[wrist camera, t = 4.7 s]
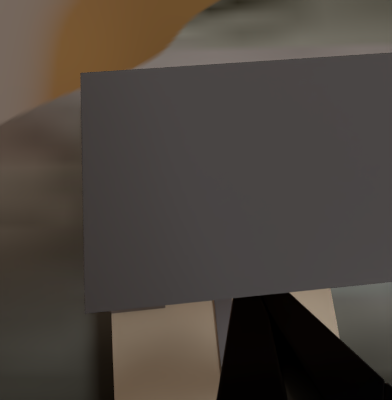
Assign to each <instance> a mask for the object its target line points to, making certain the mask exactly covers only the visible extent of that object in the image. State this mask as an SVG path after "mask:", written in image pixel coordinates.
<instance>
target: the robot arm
mask: <svg viewBox="0 0 392 400" xmlns="http://www.w3.org/2000/svg"><path fill="white" fill-rule="evenodd" d="M216 400H392V386H391V385H390V384H389V383H385V381H384V379H383V378H382V377H381V376H380V375H379V374H377V373H376V372H375V371H374V370H373V369H372V368H371V367H370V366H369V365H368V364H367V363H366V362H364V361H363V360H362V359H361V358H360V357H359V356H358V355H357V354H356V353H355V352H354V351H352V350H351V349H350V348H349V347H348V346H347V345H346V344H345V343H344V342H343V341H342V340H340V339H339V338H338V337H337V336H336V335H335V334H334V333H333V332H332V331H331V330H330V329H329V328H327V327H326V326H325V325H324V324H323V323H322V322H321V321H320V320H319V319H318V318H317V317H315V316H314V315H313V314H312V313H311V312H310V311H309V310H308V309H307V308H306V307H305V306H303V305H302V304H301V303H300V302H299V301H298V300H297V299H296V298H295V297H294V296H293V295H292V294H290V293H279V294H269V295H260V296H250V297H241V298H233V299H232V305H231V312H230V318H229V324H228V330H227V337H226V343H225V349H224V355H223V361H222V368H221V374H220V380H219V386H218V393H217V399H216Z"/></svg>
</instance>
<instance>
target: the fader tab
mask: <svg viewBox="0 0 392 400" xmlns="http://www.w3.org/2000/svg"><path fill="white" fill-rule="evenodd" d="M81 125H82V180H83V235H84V290H85V314H87V313H96V312H106V311H116V310H125V309H135V308H144V307H154V306H164V305H173V304H183V303H193V302H202V301H212V300H221V299H231V298H241V297H250V296H260V295H269V294H279V293H289V292H298V291H308V290H317V289H327V288H337V287H346V286H356V285H366V284H375V283H385V282H392V53H380V54H364V55H349V56H334V57H318V58H303V59H288V60H272V61H257V62H242V63H226V64H211V65H196V66H180V67H165V68H150V69H134V70H119V71H104V72H90V73H89V72H88V73H81Z"/></svg>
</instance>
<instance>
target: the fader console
mask: <svg viewBox="0 0 392 400" xmlns="http://www.w3.org/2000/svg"><path fill="white" fill-rule="evenodd" d="M289 293H290V294H292V295H293V296H294V297H295V298H296V299H297V300H298V301H299V302H300V303H301V304H302V305H303V306H305V307H306V308H307V309H308V310H309V311H310V312H311V313H312V314H313V315H314V316H315V317H317V318H318V319H319V320H320V321H321V322H322V323H323V324H324V325H325V326H326V327H327V328H329V329H330V330H331V331H332V332H333V333H334V334H335V335H336V336H337V337H338V338H339V332H338V327H337V322H336V316H335V311H334V306H333V300H332V295H331V290H330V288H327V289H317V290H308V291H298V292H289ZM232 299H233V298H231V299H221V300H212V301H202V302H193V303H183V304H173V305H164V306H154V307H144V308H135V309H125V310H116V311H111V316H112V344H113V371H114V399H115V400H216V399H217V393H218V386H219V380H220V374H221V368H222V361H223V355H224V349H225V343H226V337H227V330H228V324H229V318H230V312H231V305H232ZM339 339H340V338H339Z"/></svg>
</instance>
